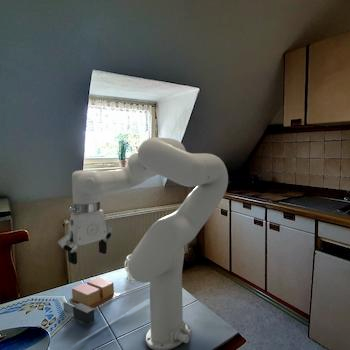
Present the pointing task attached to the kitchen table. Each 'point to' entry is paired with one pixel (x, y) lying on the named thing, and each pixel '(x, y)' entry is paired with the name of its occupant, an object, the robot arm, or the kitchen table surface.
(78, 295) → the cake slice
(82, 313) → the dark block with blade
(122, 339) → the kitchen table surface
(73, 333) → the kitchen table surface
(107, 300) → the cake board
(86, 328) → the kitchen table surface
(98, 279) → the block
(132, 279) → the mug
